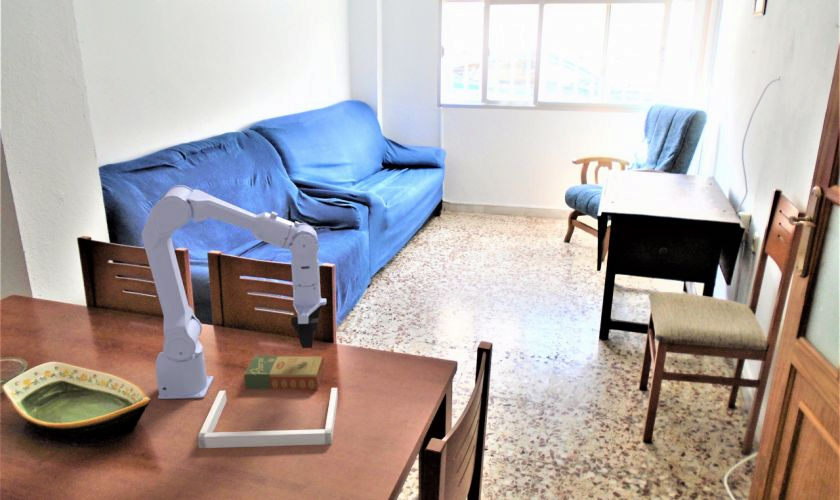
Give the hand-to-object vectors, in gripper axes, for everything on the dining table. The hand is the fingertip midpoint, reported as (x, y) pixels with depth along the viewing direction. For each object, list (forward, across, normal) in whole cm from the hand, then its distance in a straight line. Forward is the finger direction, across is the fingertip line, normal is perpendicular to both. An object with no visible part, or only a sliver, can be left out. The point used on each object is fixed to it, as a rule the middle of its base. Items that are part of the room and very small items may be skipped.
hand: (309, 338), depth 129 cm
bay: (+10, -16, +6) cm, 19 cm away
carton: (+10, -1, +6) cm, 12 cm away
